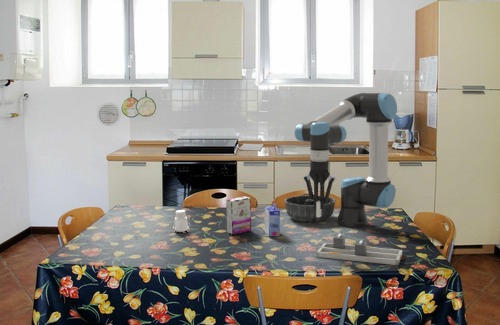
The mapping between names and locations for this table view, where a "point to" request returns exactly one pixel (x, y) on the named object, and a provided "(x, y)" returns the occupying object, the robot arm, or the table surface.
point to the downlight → (181, 221)
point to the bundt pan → (308, 208)
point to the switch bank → (372, 256)
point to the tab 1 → (339, 242)
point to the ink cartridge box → (272, 221)
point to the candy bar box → (238, 215)
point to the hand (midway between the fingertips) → (318, 216)
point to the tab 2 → (361, 248)
